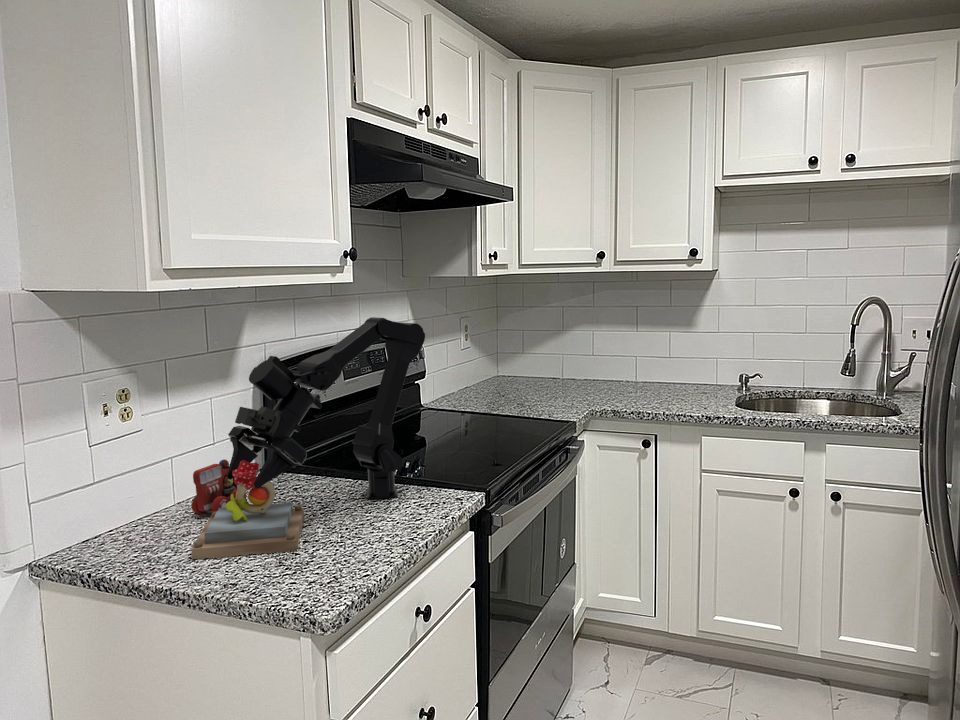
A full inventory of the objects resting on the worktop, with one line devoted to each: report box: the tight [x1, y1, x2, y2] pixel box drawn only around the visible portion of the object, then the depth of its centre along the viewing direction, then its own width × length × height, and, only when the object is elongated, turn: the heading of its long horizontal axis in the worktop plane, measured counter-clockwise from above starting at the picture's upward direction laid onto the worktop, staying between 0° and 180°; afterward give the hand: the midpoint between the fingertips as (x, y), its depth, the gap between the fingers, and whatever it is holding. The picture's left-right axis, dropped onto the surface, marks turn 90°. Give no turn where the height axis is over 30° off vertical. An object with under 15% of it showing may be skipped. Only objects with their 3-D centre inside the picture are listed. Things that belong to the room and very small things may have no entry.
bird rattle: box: [226, 460, 276, 521], centre depth 140 cm, size 6×11×9 cm
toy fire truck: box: [191, 459, 247, 515], centre depth 156 cm, size 7×12×10 cm, turn 157°
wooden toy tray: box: [190, 501, 305, 561], centre depth 140 cm, size 18×18×4 cm
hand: (241, 482), depth 138 cm, fingers open, 9 cm apart
